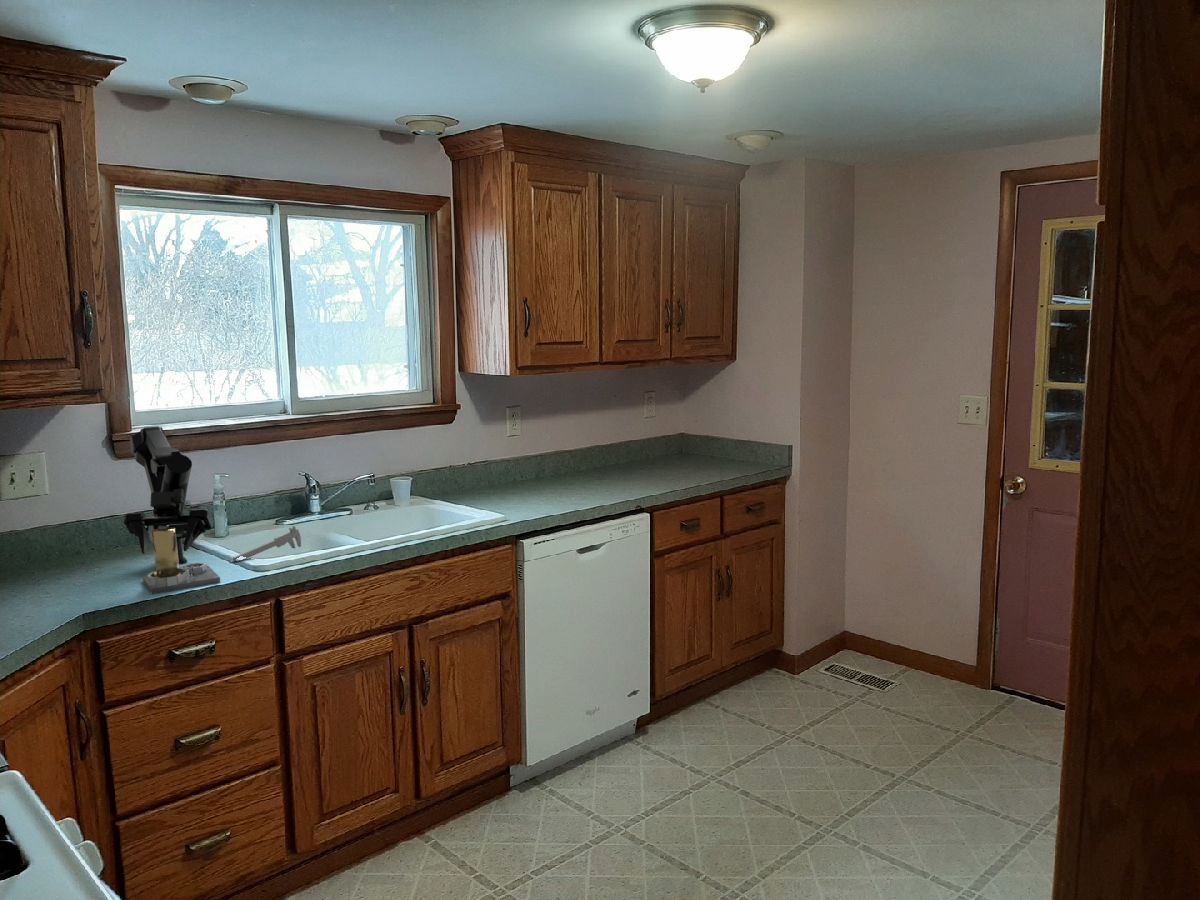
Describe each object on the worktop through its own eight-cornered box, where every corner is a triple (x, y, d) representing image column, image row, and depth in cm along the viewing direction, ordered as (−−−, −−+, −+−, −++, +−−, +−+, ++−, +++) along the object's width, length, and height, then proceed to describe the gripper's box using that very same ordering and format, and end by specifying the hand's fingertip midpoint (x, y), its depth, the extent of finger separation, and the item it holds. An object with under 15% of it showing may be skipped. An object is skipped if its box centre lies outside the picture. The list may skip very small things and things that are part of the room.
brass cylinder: (152, 581, 217) (146, 526, 215) (175, 576, 221) (170, 521, 219) (161, 585, 214) (155, 529, 212) (185, 580, 218) (179, 525, 215)
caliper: (299, 547, 253) (297, 524, 252) (301, 547, 252) (299, 525, 251) (228, 563, 237) (226, 540, 237) (231, 564, 237) (228, 540, 236)
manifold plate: (143, 581, 222) (141, 568, 222) (208, 570, 230) (207, 558, 230) (151, 594, 211) (150, 580, 211) (220, 582, 220) (219, 569, 219)
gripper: (121, 479, 216) (110, 536, 207) (205, 475, 219) (197, 531, 210) (136, 505, 225) (125, 561, 216) (216, 501, 228) (209, 555, 219)
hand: (164, 551), depth 215 cm, fingers open, 9 cm apart
